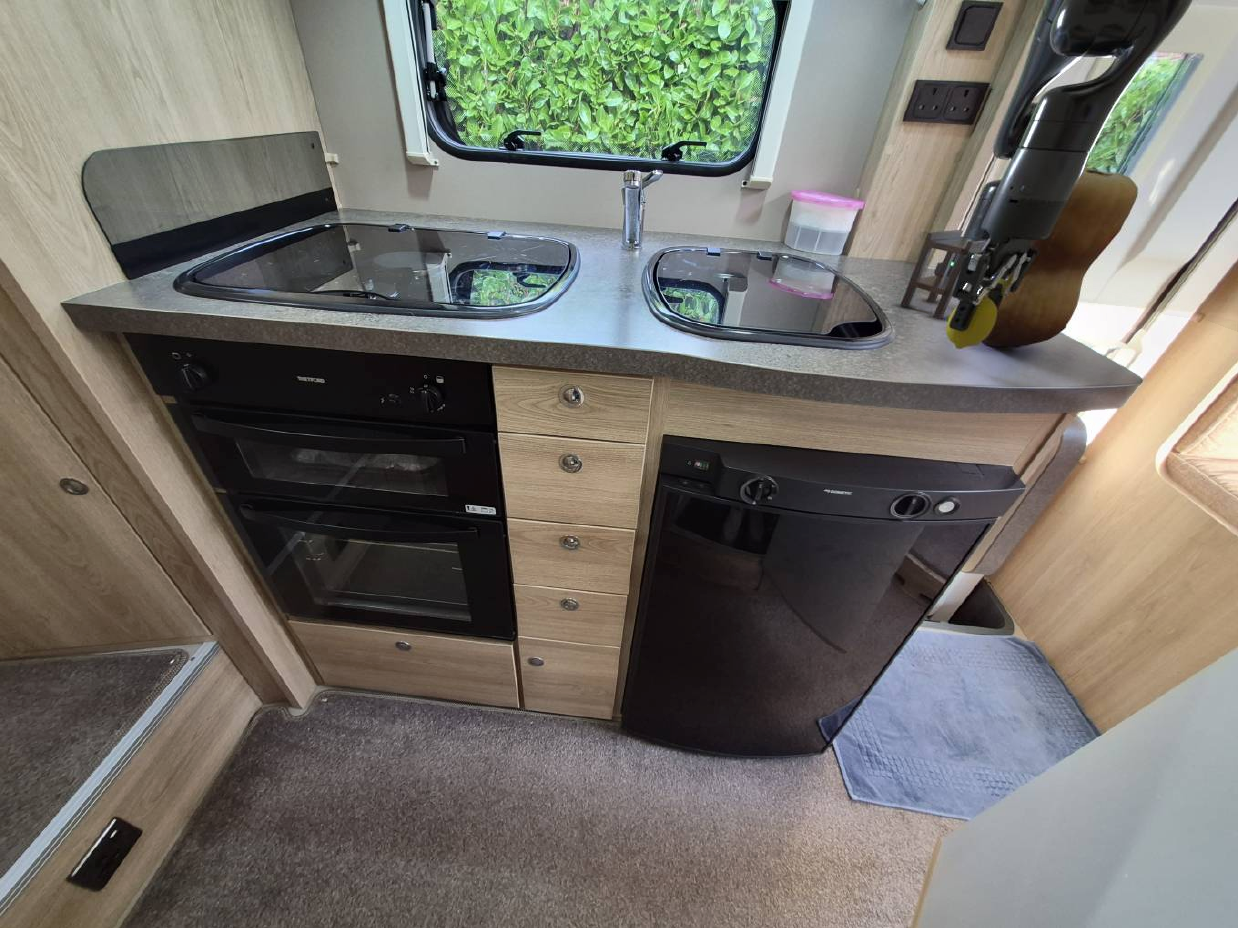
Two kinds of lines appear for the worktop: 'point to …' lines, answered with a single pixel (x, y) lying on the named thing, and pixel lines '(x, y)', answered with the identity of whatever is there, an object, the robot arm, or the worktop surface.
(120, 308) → the worktop surface
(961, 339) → the lemon
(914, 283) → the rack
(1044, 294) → the butternut squash
